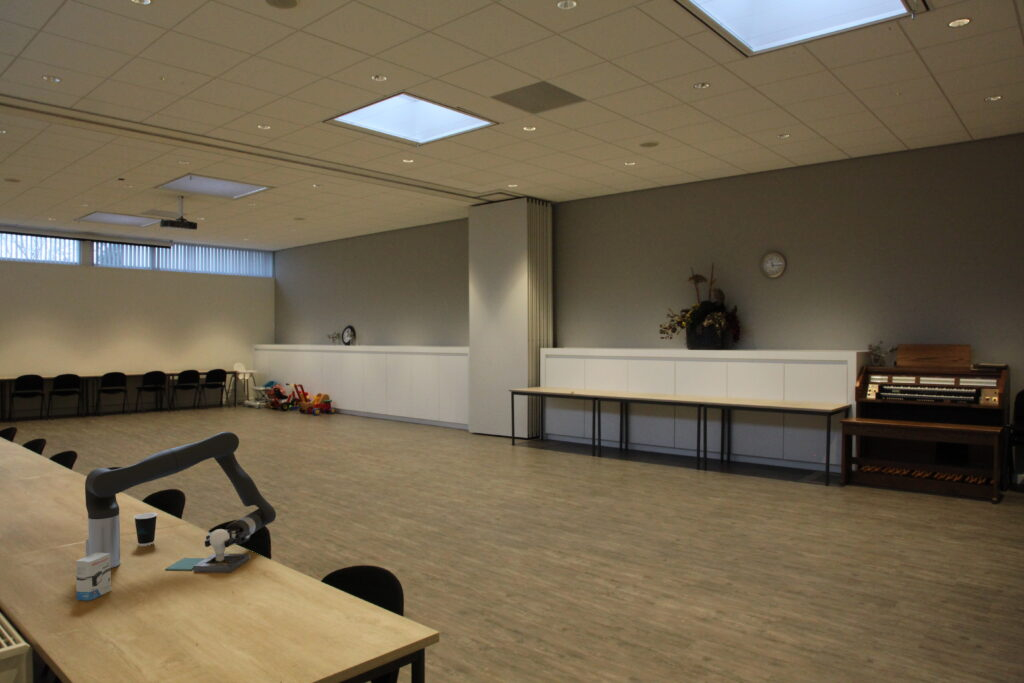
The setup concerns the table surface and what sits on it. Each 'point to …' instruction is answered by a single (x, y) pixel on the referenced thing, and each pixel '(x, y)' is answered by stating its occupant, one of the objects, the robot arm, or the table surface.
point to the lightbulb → (219, 543)
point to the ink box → (93, 576)
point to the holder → (209, 565)
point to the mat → (185, 564)
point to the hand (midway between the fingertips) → (216, 544)
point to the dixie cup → (145, 528)
